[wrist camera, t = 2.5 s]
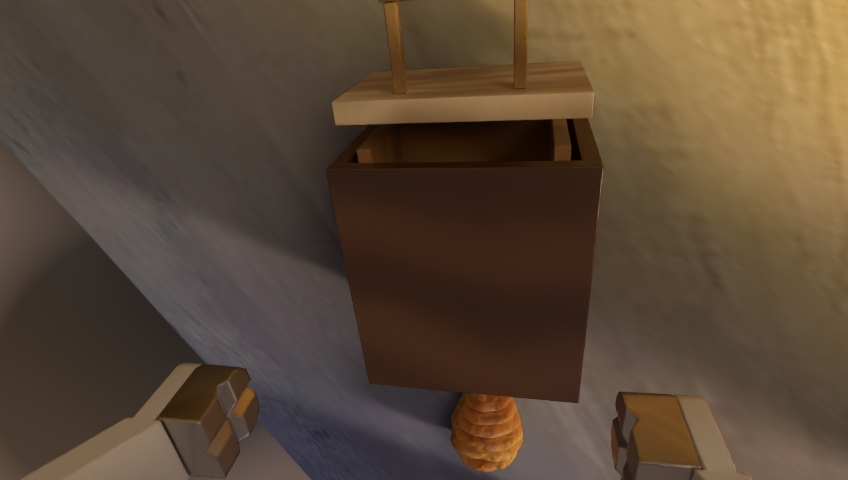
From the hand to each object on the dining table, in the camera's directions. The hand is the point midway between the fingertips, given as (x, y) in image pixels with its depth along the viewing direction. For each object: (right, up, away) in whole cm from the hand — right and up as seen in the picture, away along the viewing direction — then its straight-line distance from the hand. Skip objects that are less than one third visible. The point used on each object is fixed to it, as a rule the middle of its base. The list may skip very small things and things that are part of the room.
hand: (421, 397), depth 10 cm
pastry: (+6, -13, +35) cm, 38 cm away
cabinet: (+4, +5, +25) cm, 26 cm away
